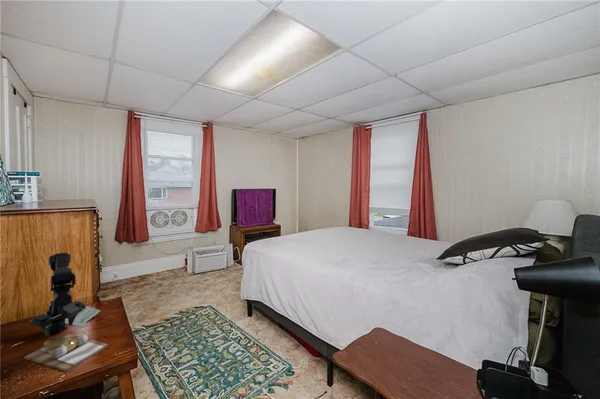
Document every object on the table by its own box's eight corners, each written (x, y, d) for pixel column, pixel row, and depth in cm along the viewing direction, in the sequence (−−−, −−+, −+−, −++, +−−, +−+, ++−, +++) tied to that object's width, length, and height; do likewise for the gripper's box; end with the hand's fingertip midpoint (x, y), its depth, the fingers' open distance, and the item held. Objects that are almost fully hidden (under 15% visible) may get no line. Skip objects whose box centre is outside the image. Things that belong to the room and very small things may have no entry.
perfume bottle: (43, 348, 115) (44, 340, 115) (58, 341, 121) (59, 333, 121) (66, 355, 113) (66, 346, 113) (80, 347, 119) (80, 339, 119)
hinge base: (24, 358, 110) (24, 347, 110) (69, 335, 128) (70, 326, 127) (67, 371, 105) (67, 360, 105) (107, 346, 123) (108, 336, 123)
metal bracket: (83, 303, 149) (104, 307, 147) (85, 310, 151) (106, 315, 149) (57, 321, 136) (79, 326, 133) (59, 329, 138) (82, 334, 135)
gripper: (51, 310, 106) (49, 346, 106) (95, 293, 124) (93, 324, 125) (31, 305, 108) (29, 340, 108) (77, 289, 126) (75, 319, 127)
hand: (59, 330), depth 117 cm, fingers open, 9 cm apart
